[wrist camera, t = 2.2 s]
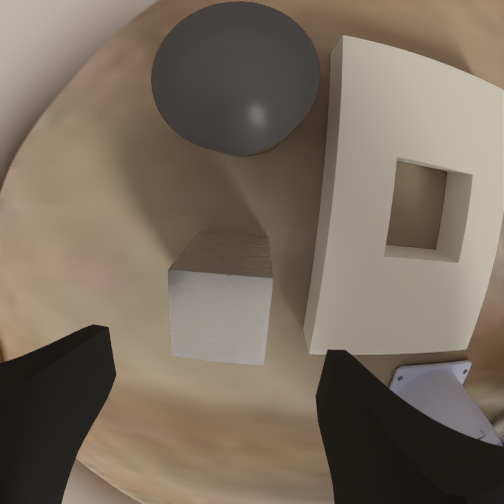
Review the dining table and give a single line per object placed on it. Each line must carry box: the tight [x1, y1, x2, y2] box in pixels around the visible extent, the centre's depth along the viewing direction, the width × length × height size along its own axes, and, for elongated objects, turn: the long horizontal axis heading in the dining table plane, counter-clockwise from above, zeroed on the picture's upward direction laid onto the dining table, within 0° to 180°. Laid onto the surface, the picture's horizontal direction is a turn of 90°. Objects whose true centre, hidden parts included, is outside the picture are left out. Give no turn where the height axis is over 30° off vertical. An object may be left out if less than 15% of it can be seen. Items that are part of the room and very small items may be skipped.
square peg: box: [168, 232, 273, 365], centre depth 16 cm, size 4×4×7 cm
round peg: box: [151, 2, 320, 156], centre depth 14 cm, size 6×6×7 cm
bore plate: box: [303, 35, 504, 355], centre depth 17 cm, size 18×12×3 cm, turn 176°
